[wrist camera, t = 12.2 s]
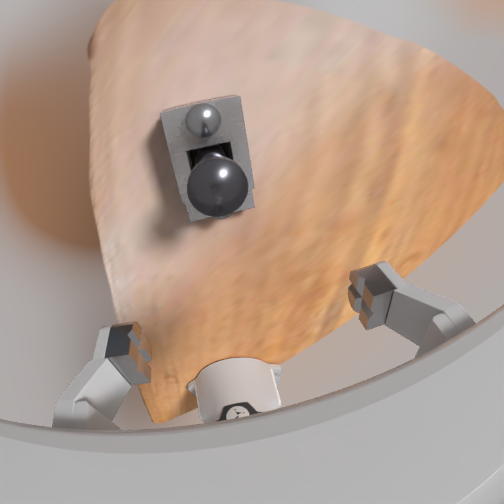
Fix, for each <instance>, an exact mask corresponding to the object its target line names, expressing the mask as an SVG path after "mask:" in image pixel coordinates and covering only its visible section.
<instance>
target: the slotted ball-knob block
mask: <svg viewBox="0 0 504 504" xmlns="http://www.w3.org/2000/svg"><path fill="white" fill-rule="evenodd" d="M160 116H161V120H162V124H163V129H164V133H165V137H166V141H167V146H168V150H169V154H170V158H171V162H172V166H173V170H174V174H175V177H176V181H177V185H178V189H179V193H180V196H181V200H182V204H185V205H186V208H187V212H188V216H189V219H190V222H193V221H197V220H201V219H206V218H210V217H212V216H208V215H205V214H202V213H201V212H199V211H198V210H196V209H195V208H194V207H193V205H192V204H191V202H190V200H189V198H188V194H187V183H188V177H189V175H190V172H191V171H192V169H193V166H192V162H191V157H190V153H189V150H193V149H197V148H202V147H206V146H211V145H215V144H220V143H225V142H227V144H228V150H229V155H230V159H232V160H233V161H235V162H236V163H237V164H238V165H240V167H241V168H242V170H243V171H244V173H245V175H246V177H247V180H248V194H247V197H246V199H245V201H244V202H243V204H242V205H241V206H240V207H239V208H238V209H237V210H236V211H234V212H237V211H241V210H246V209H251V208H255V207H254V200H253V194H252V189H254V181H253V175H252V168H251V162H250V155H249V149H248V142H247V136H246V129H245V123H244V117H243V110H242V104H241V98H240V96H237V95H231V96H225V97H219V98H214V99H209V100H204V101H199V102H195V103H190V104H186V105H182V106H178V107H174V108H170V109H166V110H164V111H162V112H161V113H160ZM231 214H232V213H231ZM231 214H228V215H225V216H220V217H213V218H215V219H225V218H227V217H229V216H230V215H231Z"/></svg>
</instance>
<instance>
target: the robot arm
mask: <svg viewBox="0 0 504 504" xmlns="http://www.w3.org/2000/svg"><path fill="white" fill-rule="evenodd" d="M349 280H350V281H351V283H352V284H351V285H350V286H349V288H348V298H349V302H350V305H351V307H352V308H353V310H354V311H356V312H358V313H360V314H359V320H360V321H361V323H362V324H363V326H364V328H365V329H366V330H369V329H372V328H375V327H377V326H381V325H384V324H385V325H386V326H387V327H389V328H390V329H392V330H394V331H395V332H397V333H398V334H400V335H402V336H404V337H405V338H407V339H409V340H410V341H412V342H413V343H415V344H416V345H418V346H420V348H419V350H418V352H417V354H416V356H415V358H414V359H413V360H410V361H408V362H406V363H404V364H402V365H399V366H397V367H395V368H393V369H391V370H388V371H386V372H384V373H382V374H379V375H377V376H374V377H372V378H370V379H367V380H365V381H362V382H360V383H357V384H354V385H352V386H349V387H346V388H343V389H341V390H338V391H335V392H332V393H329V394H326V395H323V396H320V397H317V398H314V399H310V400H307V401H304V402H300V403H297V404H293V405H290V406H286V407H282V408H281V399H280V397H279V393H278V384H279V380H280V377H281V373H282V368H281V365H277V364H268V363H265V362H263V361H261V360H258V359H254V358H231V359H225V360H221V361H218V362H215V363H213V364H211V365H209V366H207V367H205V368H204V369H203V370H202V371H201V372H200V373H199V374H198V376H197V378H196V379H195V380H193V381H191V382H190V383H188V385H187V386H188V390H189V391H190V392H191V393H193V394H194V395H195V396H196V397H197V404H198V410H199V415H200V419H201V420H202V421H203V422H205V423H204V424H197V425H189V426H181V427H172V428H159V429H145V430H121V429H120V428H119V427H118V426H116V425H115V424H114V423H112V420H113V418H114V416H115V415H116V413H117V411H118V409H119V407H120V406H121V404H122V402H123V400H124V398H125V397H126V395H127V393H128V392H129V390H130V388H131V385H137V384H144V383H151V367H150V366H149V365H148V363H149V361H150V360H151V359H152V351H151V345H150V343H149V340H148V338H147V337H146V336H145V335H144V334H142V333H141V327H140V325H139V324H138V322H129V323H122V324H116V325H111V326H104V327H101V328H100V330H99V333H98V338H97V342H96V346H95V351H94V355H93V360H89V361H88V363H87V364H86V365H85V366H84V368H83V369H82V370H81V371H80V372H79V373H78V375H77V376H76V377H75V378H74V380H73V381H72V382H71V383H70V384H69V386H68V387H67V388H66V389H65V391H64V392H63V393H62V394H61V396H60V397H59V398H58V399H57V402H56V407H55V413H54V419H53V425H52V427H45V426H37V425H30V424H23V423H18V422H12V421H7V420H2V419H0V504H504V305H502V306H501V307H500V308H498V309H497V310H496V311H494V312H492V313H491V314H490V315H488V316H487V317H485V318H484V319H482V320H481V321H479V322H478V323H475V322H474V321H473V319H472V318H470V316H469V315H468V314H467V312H466V311H465V310H464V309H463V308H462V307H461V305H460V304H459V303H457V302H454V301H452V300H449V299H447V298H444V297H442V296H439V295H437V294H434V293H432V292H429V291H427V290H424V289H422V288H419V287H417V286H414V285H412V284H409V285H407V284H406V283H405V281H404V280H403V279H402V278H401V277H400V276H399V275H398V273H397V272H396V271H395V270H394V269H393V268H392V267H391V266H390V265H389V264H388V262H386V261H382V262H379V263H375V264H373V265H369V266H366V267H363V268H359V269H356V270H352V271H351V272H350V276H349Z"/></svg>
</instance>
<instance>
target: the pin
mask: <svg viewBox="0 0 504 504" xmlns="http://www.w3.org/2000/svg"><path fill="white" fill-rule="evenodd" d="M187 194H188V198H189V200H190V202H191V204H192V205H193V207H194V208H195V209H196V210H198V211H199V212H201V213H202V214H205V215H208V216H212V217H220V216H225V215H228V214H231V213H233V212H234V211H236V210H237V209H238V208H239V207H240V206H241V205H242V204H243V202H244V201H245V199H246V197H247V194H248V180H247V177H246V175H245V173H244V171H243V170H242V168H241V167H240V165H238V164H237V163H236V162H235V161H233V160H232V159H230V158H227V157H226V155H225V153H224V150H223V149H222V147H221V146H220V145H218V144H215V145H211V146H206V147H202V148H199V149H198V150H197V152H196V166H195V167H194V168H193V169H192V171H191V172H190V175H189V177H188V183H187Z"/></svg>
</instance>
